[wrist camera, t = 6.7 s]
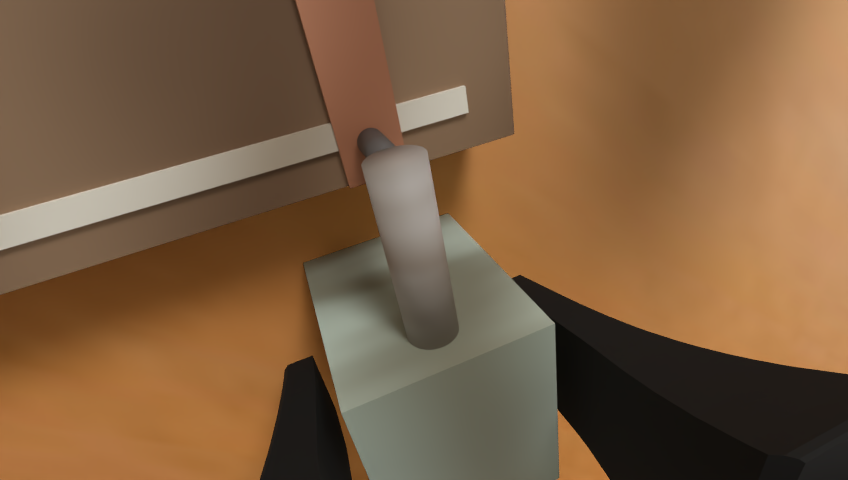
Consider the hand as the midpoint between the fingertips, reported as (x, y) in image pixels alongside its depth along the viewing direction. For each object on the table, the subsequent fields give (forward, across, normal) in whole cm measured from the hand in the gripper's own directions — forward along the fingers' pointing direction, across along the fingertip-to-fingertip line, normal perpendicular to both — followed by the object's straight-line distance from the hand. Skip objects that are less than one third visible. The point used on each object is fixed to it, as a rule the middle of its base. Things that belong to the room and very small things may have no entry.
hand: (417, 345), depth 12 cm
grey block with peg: (+2, 0, -2) cm, 2 cm away
